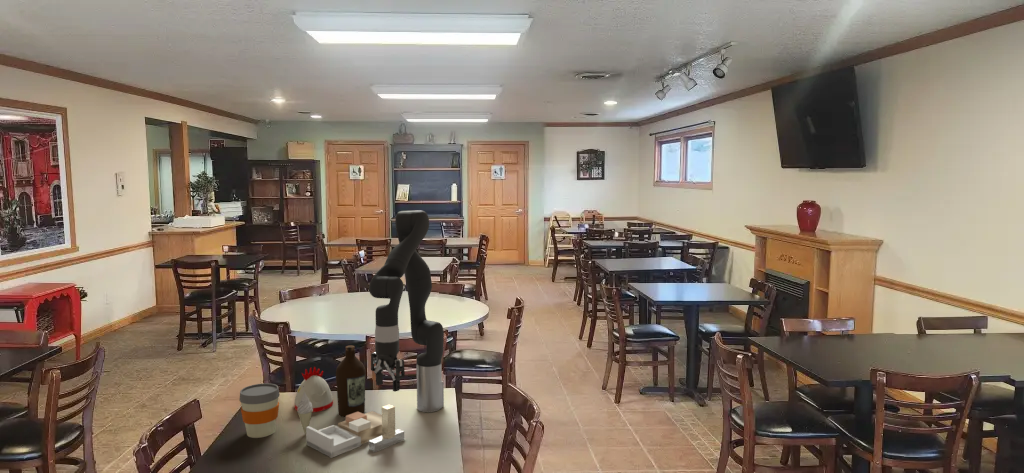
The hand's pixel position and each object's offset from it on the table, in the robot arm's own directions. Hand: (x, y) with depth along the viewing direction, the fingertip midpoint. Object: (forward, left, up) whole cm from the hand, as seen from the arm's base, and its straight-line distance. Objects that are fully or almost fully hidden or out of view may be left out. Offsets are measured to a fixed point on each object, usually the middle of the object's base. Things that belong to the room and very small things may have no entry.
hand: (387, 387), depth 195 cm
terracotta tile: (+1, -16, -15) cm, 22 cm away
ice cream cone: (+13, -28, -19) cm, 36 cm away
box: (+12, -13, -19) cm, 26 cm away
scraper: (0, -1, -19) cm, 19 cm away
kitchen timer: (-3, -49, -20) cm, 53 cm away
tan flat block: (-1, -13, -19) cm, 23 cm away
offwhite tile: (+3, -11, -15) cm, 19 cm away
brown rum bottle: (-8, -32, -19) cm, 38 cm away
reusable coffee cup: (+22, -41, -19) cm, 50 cm away
